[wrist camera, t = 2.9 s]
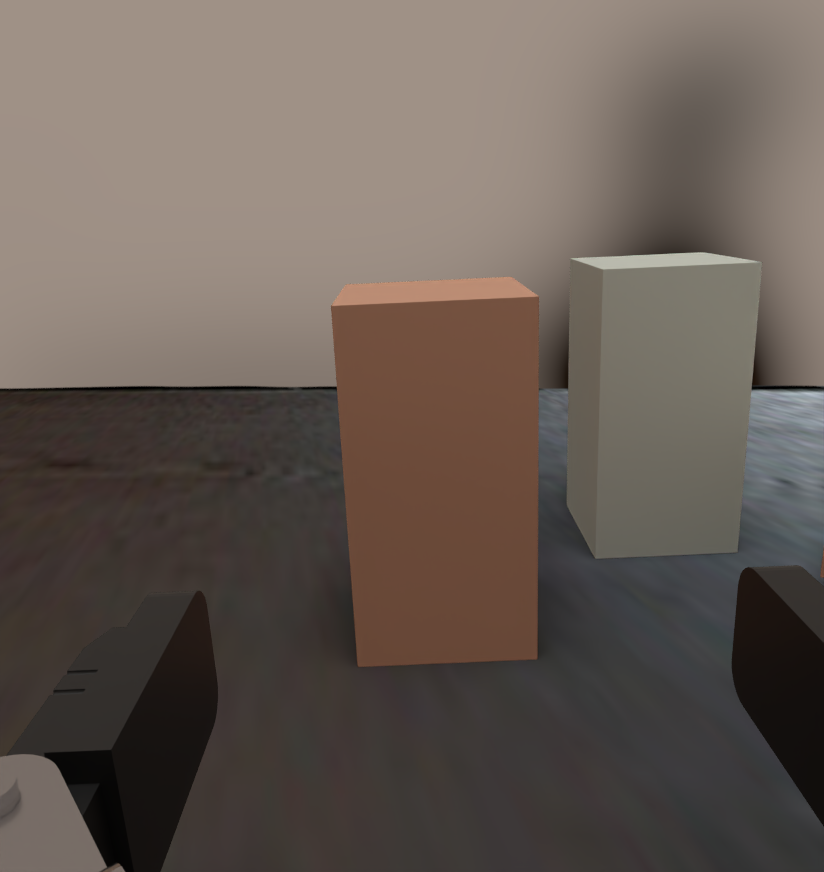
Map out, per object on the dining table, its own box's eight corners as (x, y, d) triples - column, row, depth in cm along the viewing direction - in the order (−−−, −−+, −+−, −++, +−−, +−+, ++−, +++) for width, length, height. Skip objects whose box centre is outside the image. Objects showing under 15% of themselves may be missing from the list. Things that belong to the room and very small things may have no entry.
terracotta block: (358, 667, 21) (331, 306, 19) (366, 582, 26) (346, 284, 23) (537, 659, 21) (538, 296, 19) (513, 575, 26) (511, 276, 23)
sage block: (595, 559, 27) (603, 269, 24) (566, 505, 32) (570, 258, 29) (737, 552, 27) (762, 262, 24) (687, 500, 32) (703, 252, 29)
